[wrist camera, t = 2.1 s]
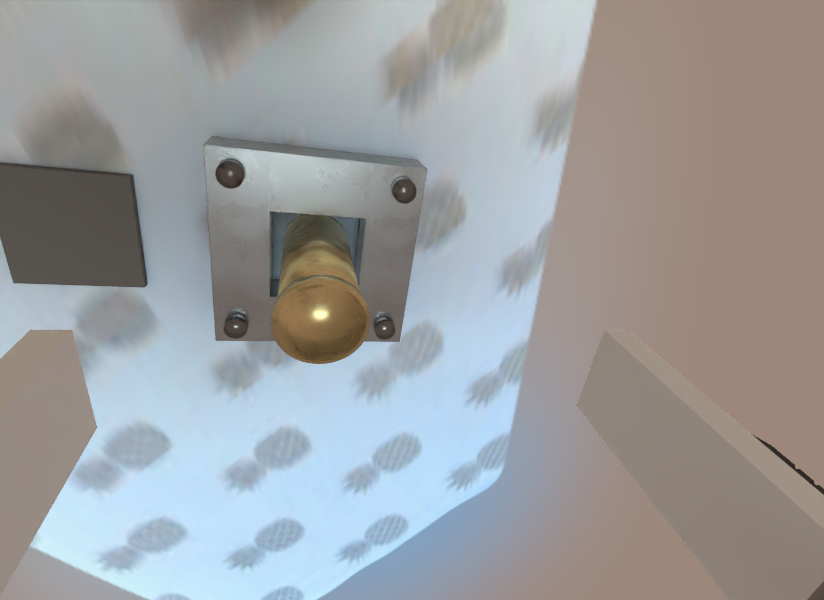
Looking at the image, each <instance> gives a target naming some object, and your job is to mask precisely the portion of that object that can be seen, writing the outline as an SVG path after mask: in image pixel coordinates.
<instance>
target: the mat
mask: <svg viewBox="0 0 824 600" xmlns="http://www.w3.org/2000/svg"><path fill="white" fill-rule="evenodd" d="M0 238H1V241H2V245H3V248H4V252H5V255H6V258H7V262H8V265H9V269H10V272H11V276H12V279H13V283H27V284H58V285H88V286H119V287H145V286H146V285H147V278H146V270H145V263H144V256H143V248H142V241H141V233H140V226H139V219H138V211H137V204H136V197H135V189H134V182H133V175H129V174H118V173H107V172H96V171H85V170H74V169H62V168H51V167H40V166H29V165H18V164H7V163H0Z"/></svg>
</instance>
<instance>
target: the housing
mask: <svg viewBox="0 0 824 600" xmlns="http://www.w3.org/2000/svg"><path fill="white" fill-rule="evenodd" d="M204 160H205V176H206V192H207V208H208V224H209V240H210V256H211V272H212V288H213V304H214V320H215V336H216V341H276V340H275V338H274V336H273V332H272V325H271V323H272V313H273V307H274V304H275V302H276V299H277V298H278V291H279V280H280V279H272V211H273V212H286V213H299V214H312V215H325V216H338V217H351V218H360V223H359V233H358V244H357V254H356V264H355V273H356V277H357V281H358V286H359V290H360V292H361V293H362V295H363V297H364V299H365V301H366V304H367V307H368V311H369V315H370V327H369V331H368V334H367V336H366V338H365V340H364V341H383V342H400V336H401V330H402V323H403V317H404V311H405V305H406V298H407V292H408V286H409V280H410V273H411V267H412V261H413V255H414V249H415V242H416V236H417V230H418V224H419V217H420V211H421V205H422V199H423V192H424V186H425V180H426V174H427V168H425V167H424V166H423V165H422V164H421V163H420V162H419V161H418V160H413V159H404V158H396V157H387V156H378V155H369V154H361V153H352V152H343V151H334V150H326V149H317V148H308V147H299V146H290V145H282V144H273V143H264V142H255V141H247V140H238V139H229V138H220V137H211V138H210V139H209V140H208V141H207V142H206V143H205V144H204Z"/></svg>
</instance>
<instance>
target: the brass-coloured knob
mask: <svg viewBox="0 0 824 600" xmlns="http://www.w3.org/2000/svg"><path fill="white" fill-rule="evenodd" d="M271 325H272V332H273V336H274V338H275V340H276V342H277V344H278V345H279V346H280V347H281V349H282V350H283V351H284V352H286V353H287V354H288V355H290V356H291V357H293V358H295V359H297V360H300V361H303V362H307V363H313V364H325V363H332V362H335V361H338V360H341V359H343V358H345V357H347V356H349V355H350V354H352V353H353V352H354V351H356V350H357V349H358V348H359V347H360V346H361V344H362V343H363V342H364V340H365V338H366V336H367V334H368V331H369V327H370V315H369V311H368V307H367V304H366V301H365V299H364V297H363V295H362V293H361V292H360V290H359V286H358V281H357V277H356V273H355V269H354V265H353V261H352V257H351V253H350V249H349V245H348V241H347V237H346V233H345V231H344V229H343V227H342V226H341V225H340V223H339V222H338V221H336V220H335V219H334V218H332V217H330V216H325V215H312V214H304V215H301V216H299V217H297V218H296V219H294V220H293V221H292V222H291V223H290V224H289V226H288V227H287V229H286V231H285V233H284V238H283V249H282V259H281V270H280V280H279V291H278V298H277V299H276V302H275V304H274V307H273V313H272V323H271Z"/></svg>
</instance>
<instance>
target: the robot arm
mask: <svg viewBox="0 0 824 600" xmlns="http://www.w3.org/2000/svg"><path fill="white" fill-rule="evenodd" d="M577 407H578V408H579V409H580V411H581V412H582V413H583V414H584V416H585V417H586V418H587V420H588V421H589V422H590V424H591V425H592V426H593V427H594V428H595V430H596V431H597V433H598V434H599V435H600V436H601V438H602V439H603V440H604V442H605V443H606V444H607V445H608V447H609V448H610V449H611V451H612V452H613V453H614V454H615V456H616V457H617V458H618V459H619V461H620V462H621V463H622V465H623V466H624V467H625V468H626V470H627V471H628V472H629V474H630V475H631V476H632V477H633V478H634V480H635V481H636V483H637V484H638V485H639V486H640V488H641V489H642V490H643V492H644V493H645V494H646V495H647V497H648V498H649V499H650V501H651V502H652V503H653V504H654V506H655V507H656V508H657V510H658V511H659V512H660V513H661V515H662V516H663V517H664V519H665V520H666V521H667V522H668V524H669V525H670V526H671V527H672V529H673V530H674V531H675V532H676V534H677V535H678V537H679V538H680V539H681V540H682V542H683V543H684V544H685V545H686V547H687V548H688V549H689V551H690V552H691V553H692V555H693V556H694V557H695V558H696V560H697V561H698V562H699V563H700V565H701V566H702V567H703V568H704V570H705V571H706V573H707V574H708V575H709V576H710V578H711V579H712V580H713V582H714V583H715V584H716V585H717V587H718V588H719V589H720V591H721V592H722V593H723V594H724V596H725V597H726V598H727V600H824V489H823V488H822V487H821V486H819V485H815V484H814V481H813V480H812V479H811V478H810V477H809V476H807V475H806V474H805V473H804V472H803V471H801V470H800V469H796V468H795V465H794V464H793V463H792V462H791V461H789V460H788V459H787V458H786V457H784V456H783V455H782V454H781V453H780V452H778V451H777V450H776V449H775V448H774V447H772V446H771V445H769V444H768V443H766V442H764V441H763V440H761V439H759V438H758V437H756V436H754V435H752V434H751V433H749V432H748V431H747V430H746V429H745V428H744V427H742V426H741V425H740V424H739V423H738V422H736V421H735V420H734V419H733V418H732V417H730V416H729V415H728V414H727V413H726V412H725V411H723V410H722V409H721V408H720V407H719V406H717V405H716V404H715V403H714V402H713V401H711V400H710V399H709V398H708V397H707V396H706V395H704V394H703V393H702V392H701V391H700V390H698V389H697V388H696V387H695V386H694V385H692V384H691V383H690V382H689V381H688V380H687V379H685V378H684V377H683V376H682V375H681V374H679V373H678V372H677V371H676V370H675V369H674V368H672V367H671V366H670V365H669V364H668V363H666V362H665V361H664V360H663V359H662V358H660V357H659V356H658V355H657V354H656V353H655V352H653V351H652V350H651V349H650V348H649V347H647V346H646V345H645V344H644V343H643V342H641V341H640V340H639V339H638V338H637V337H635V336H634V335H633V334H632V333H631V332H630V331H628V330H604V332H603V335H602V337H601V340H600V343H599V345H598V348H597V351H596V354H595V356H594V359H593V362H592V365H591V367H590V370H589V373H588V375H587V378H586V381H585V384H584V386H583V389H582V392H581V395H580V397H579V400H578V403H577ZM96 428H97V426H96V422H95V418H94V414H93V410H92V406H91V402H90V398H89V394H88V390H87V387H86V383H85V379H84V375H83V371H82V367H81V363H80V359H79V355H78V351H77V347H76V344H75V340H74V336H73V332H72V330H30V331H29V332H28V333H27V334H26V335H25V336H24V337H23V338H22V339H21V340H20V341H18V342H17V343H16V344H15V345H14V346H13V347H12V348H11V349H10V350H9V351H8V352H7V353H6V354H5V355H4V356H3V357H2V358H1V359H0V596H1V594H2V592H3V590H4V589H5V587H6V585H7V583H8V582H9V580H10V578H11V576H12V575H13V573H14V571H15V569H16V568H17V566H18V564H19V563H20V561H21V559H22V557H23V556H24V554H25V552H26V550H27V549H28V547H29V545H30V543H31V542H32V540H33V538H34V536H35V535H36V533H37V531H38V529H39V528H40V526H41V524H42V522H43V521H44V519H45V517H46V515H47V514H48V512H49V510H50V508H51V507H52V505H53V503H54V502H55V500H56V498H57V496H58V495H59V493H60V491H61V489H62V488H63V486H64V484H65V482H66V481H67V479H68V477H69V475H70V474H71V472H72V470H73V468H74V467H75V465H76V463H77V461H78V460H79V458H80V456H81V454H82V453H83V451H84V449H85V447H86V446H87V444H88V442H89V440H90V439H91V437H92V435H93V434H94V432H95V430H96Z"/></svg>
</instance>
